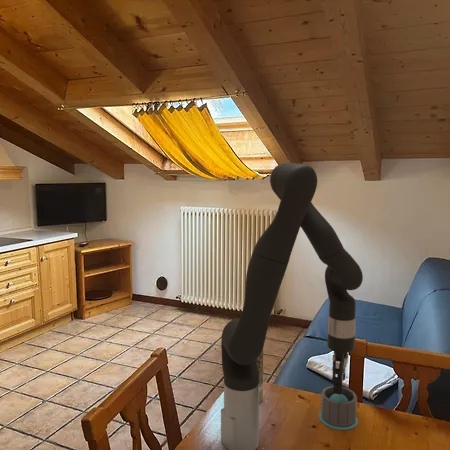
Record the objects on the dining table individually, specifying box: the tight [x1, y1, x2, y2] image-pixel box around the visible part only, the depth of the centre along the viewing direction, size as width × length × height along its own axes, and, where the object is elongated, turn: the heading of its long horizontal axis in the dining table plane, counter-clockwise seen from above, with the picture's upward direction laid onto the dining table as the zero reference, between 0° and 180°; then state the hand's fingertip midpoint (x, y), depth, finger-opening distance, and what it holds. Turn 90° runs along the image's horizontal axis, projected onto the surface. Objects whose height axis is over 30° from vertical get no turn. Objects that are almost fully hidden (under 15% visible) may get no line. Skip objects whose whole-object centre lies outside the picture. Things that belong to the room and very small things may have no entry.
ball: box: [329, 394, 349, 402], centre depth 123 cm, size 6×6×6 cm
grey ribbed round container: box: [318, 385, 359, 431], centre depth 124 cm, size 11×11×7 cm
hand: (339, 386), depth 123 cm, fingers open, 8 cm apart
